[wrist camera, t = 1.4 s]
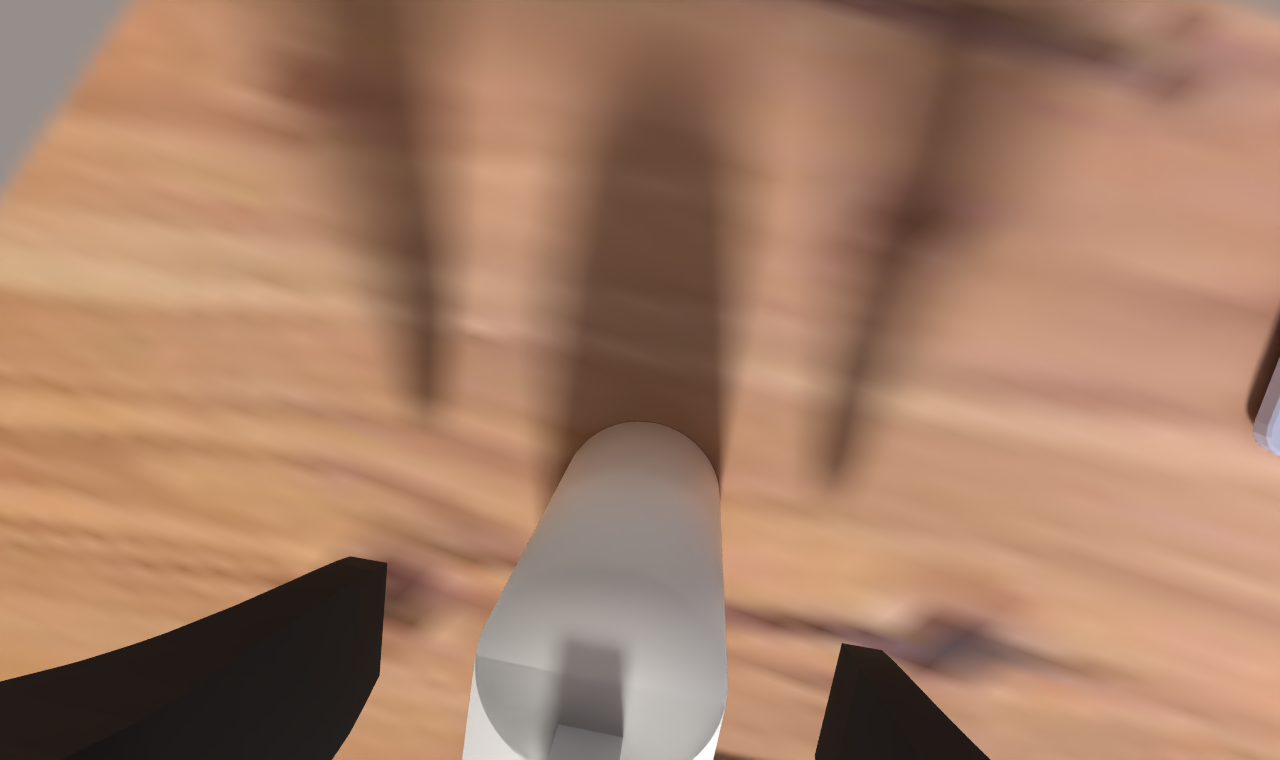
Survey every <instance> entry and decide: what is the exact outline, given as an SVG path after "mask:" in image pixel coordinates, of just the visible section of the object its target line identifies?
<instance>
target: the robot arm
mask: <svg viewBox="0 0 1280 760" xmlns="http://www.w3.org/2000/svg"><path fill="white" fill-rule="evenodd" d="M1253 433H1254V436H1255V440H1256V442H1257V443H1258V444H1259V445H1260V446H1261V447H1262V448H1263V449H1264V450H1266V451H1269V452H1271V453H1273V454H1275V455H1278V456H1280V358H1279V361H1278V363H1277V366H1276V368H1275V371H1274V373H1273V376H1272V378H1271V381H1270V383H1269V386H1268V388H1267V391H1266V394H1265V396H1264V399H1263V401H1262V404H1261V406H1260V409H1259V411H1258V414H1257V416H1256V419H1255V423H1254V429H1253ZM386 574H387V563H384V562H379V561H373V560H367V559H362V558H356V557H347V558H344V559H341V560H338V561H336V562H333V563H331V564H329V565H326V566H324V567H321V568H319V569H317V570H315V571H312V572H310V573H308V574H305V575H303V576H301V577H299V578H297V579H294V580H292V581H290V582H288V583H285V584H283V585H281V586H279V587H276V588H274V589H272V590H270V591H267V592H265V593H263V594H260V595H258V596H256V597H254V598H251V599H249V600H247V601H245V602H242V603H240V604H238V605H235V606H233V607H230V608H228V609H225V610H223V611H220V612H218V613H215V614H213V615H210V616H208V617H205V618H203V619H200V620H198V621H195V622H193V623H190V624H188V625H185V626H183V627H180V628H178V629H175V630H173V631H170V632H168V633H165V634H162V635H159V636H156V637H154V638H151V639H148V640H145V641H142V642H139V643H136V644H133V645H130V646H127V647H124V648H121V649H118V650H115V651H111V652H108V653H105V654H102V655H99V656H95V657H92V658H89V659H86V660H82V661H79V662H75V663H72V664H68V665H64V666H60V667H56V668H52V669H48V670H44V671H41V672H37V673H33V674H29V675H25V676H21V677H17V678H13V679H9V680H5V681H1V682H0V760H332V759H333V757H334V756H335V754H336V753H337V751H338V750H339V748H340V747H341V745H342V744H343V742H344V741H345V739H346V738H347V736H348V735H349V733H350V732H351V730H352V728H353V726H354V724H355V722H356V720H357V719H358V717H359V715H360V713H361V711H362V709H363V707H364V705H365V703H366V701H367V699H368V697H369V695H370V693H371V691H372V689H373V687H374V685H375V683H376V681H377V679H378V677H379V675H380V660H381V646H382V632H383V617H384V603H385V588H386ZM815 760H990V759H989V758H988V757H987V756H986V755H985V754H984V753H983V752H982V751H981V750H980V749H979V748H978V747H977V746H976V745H975V744H974V743H973V742H972V741H971V740H970V739H969V738H968V737H967V736H966V735H965V734H964V733H963V732H962V731H961V730H960V729H959V728H958V727H957V726H956V725H955V724H954V723H953V722H952V721H951V720H950V719H949V718H948V717H947V716H946V715H945V714H944V713H943V712H942V711H941V710H940V709H939V708H938V707H937V706H936V705H935V704H934V703H933V702H932V700H931V699H930V698H929V697H928V696H927V695H926V694H925V693H924V692H923V691H922V690H921V689H920V688H919V687H918V686H917V685H916V684H915V683H914V682H913V681H912V680H911V679H910V677H909V676H908V675H907V674H906V673H905V672H904V671H903V670H902V669H901V668H900V667H899V666H898V665H897V664H896V663H895V662H894V661H893V660H892V659H891V658H890V657H889V656H888V655H886V654H885V653H884V652H883V651H882V650H877V649H872V648H866V647H860V646H855V645H849V644H843V643H842V645H841V649H840V654H839V658H838V662H837V666H836V670H835V674H834V678H833V683H832V687H831V691H830V695H829V699H828V703H827V707H826V712H825V716H824V720H823V724H822V728H821V732H820V736H819V740H818V745H817V749H816V753H815Z"/></svg>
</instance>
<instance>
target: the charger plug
mask: <svg viewBox="0 0 1280 760" xmlns="http://www.w3.org/2000/svg"><path fill="white" fill-rule="evenodd" d="M727 692H728V677H727V654H726V630H725V607H724V583H723V560H722V536H721V513H720V492H719V485H718V480H717V477H716V473H715V471H714V469H713V467H712V464H711V463H710V461H709V460H708V458H707V456H706V455H705V454H704V452H703V451H702V450H701V449H700V448H699V447H698V446H697V445H696V444H695V443H694V442H693V441H692V440H691V439H689V438H688V437H686V436H685V435H684V434H682V433H680V432H678V431H676V430H675V429H672V428H670V427H667V426H664V425H660V424H657V423H651V422H627V423H621V424H617V425H613V426H611V427H608V428H606V429H603V430H602V431H600V432H598V433H596V434H595V435H593V436H592V437H591V438H589V439H588V440H587V441H586V442H585V443H584V444H583V445H582V446H581V447H580V448H579V449H578V451H577V452H576V453H575V455H574V456H573V458H572V460H571V462H570V464H569V466H568V468H567V469H566V471H565V473H564V475H563V477H562V479H561V481H560V483H559V485H558V487H557V489H556V490H555V492H554V494H553V496H552V498H551V500H550V502H549V504H548V506H547V508H546V510H545V511H544V513H543V515H542V517H541V519H540V521H539V523H538V525H537V527H536V529H535V531H534V532H533V534H532V536H531V538H530V540H529V542H528V544H527V546H526V548H525V550H524V552H523V553H522V555H521V557H520V559H519V561H518V563H517V565H516V567H515V569H514V571H513V573H512V575H511V576H510V578H509V580H508V582H507V584H506V586H505V588H504V590H503V592H502V594H501V596H500V597H499V599H498V601H497V603H496V605H495V607H494V609H493V611H492V613H491V615H490V617H489V618H488V620H487V622H486V624H485V626H484V628H483V631H482V634H481V636H480V639H479V642H478V647H477V652H476V657H475V665H474V672H473V680H472V688H471V695H470V703H469V711H468V719H467V726H466V734H465V742H464V750H463V757H462V760H713V758H714V754H715V749H716V745H717V741H718V736H719V732H720V728H721V723H722V719H723V715H724V710H725V706H726V699H727Z"/></svg>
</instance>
